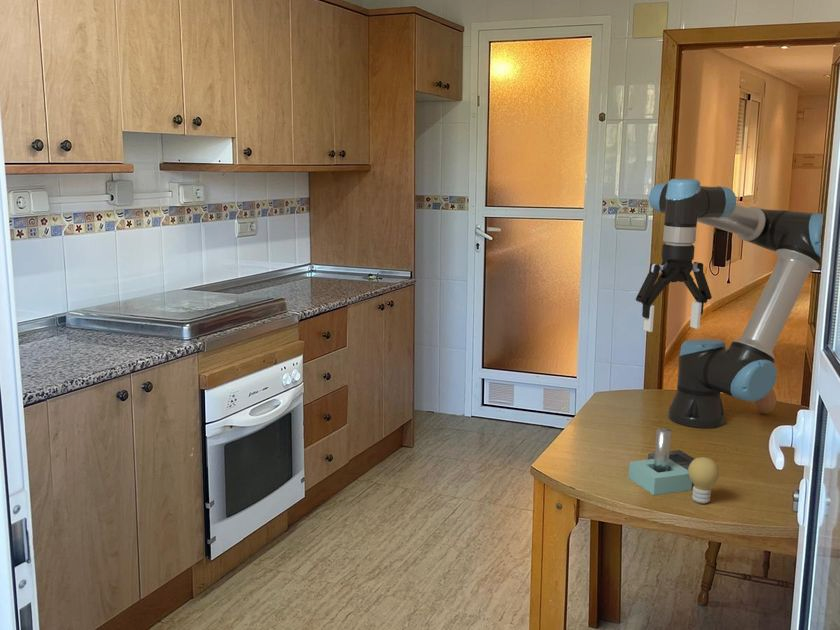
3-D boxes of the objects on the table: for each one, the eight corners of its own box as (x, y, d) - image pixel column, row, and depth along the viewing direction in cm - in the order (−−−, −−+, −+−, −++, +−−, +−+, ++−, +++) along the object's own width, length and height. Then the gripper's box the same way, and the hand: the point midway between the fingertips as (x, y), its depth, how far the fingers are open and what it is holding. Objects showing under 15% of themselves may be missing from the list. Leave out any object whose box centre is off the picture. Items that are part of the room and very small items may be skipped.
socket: (665, 473, 199) (666, 457, 198) (691, 489, 189) (692, 473, 189) (628, 478, 195) (629, 461, 195) (653, 495, 186) (654, 478, 185)
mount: (678, 459, 207) (679, 450, 207) (701, 473, 199) (702, 463, 199) (647, 463, 204) (648, 453, 204) (669, 477, 196) (670, 467, 196)
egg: (768, 410, 247) (771, 383, 245) (778, 416, 242) (782, 388, 240) (749, 410, 246) (752, 383, 245) (760, 417, 241) (763, 389, 239)
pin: (661, 480, 194) (665, 427, 192) (669, 485, 191) (674, 431, 189) (649, 481, 193) (653, 428, 191) (657, 487, 190) (662, 433, 188)
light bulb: (684, 504, 182) (688, 461, 180) (686, 493, 187) (690, 451, 185) (715, 509, 179) (719, 465, 177) (716, 498, 185) (720, 455, 183)
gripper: (711, 240, 210) (704, 323, 214) (625, 242, 202) (619, 328, 206) (731, 244, 203) (723, 329, 207) (643, 246, 195) (636, 335, 199)
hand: (671, 329), depth 207 cm, fingers open, 13 cm apart
